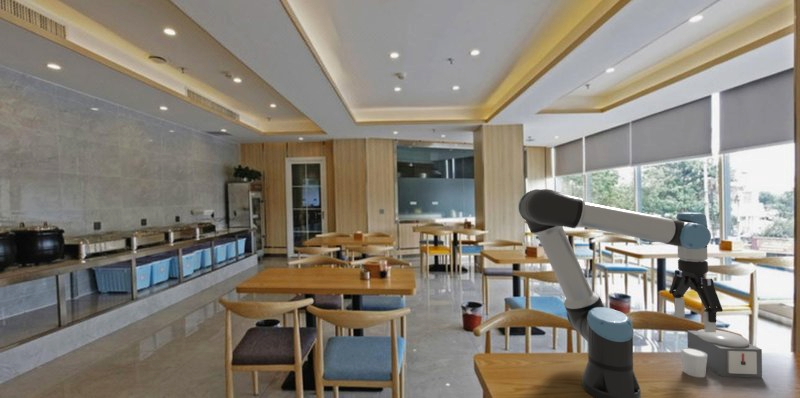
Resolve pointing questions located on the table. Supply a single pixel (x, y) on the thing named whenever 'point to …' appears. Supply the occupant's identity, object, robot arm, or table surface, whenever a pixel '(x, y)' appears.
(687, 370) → the shot glass
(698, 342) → the dial scale
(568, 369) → the table surface
